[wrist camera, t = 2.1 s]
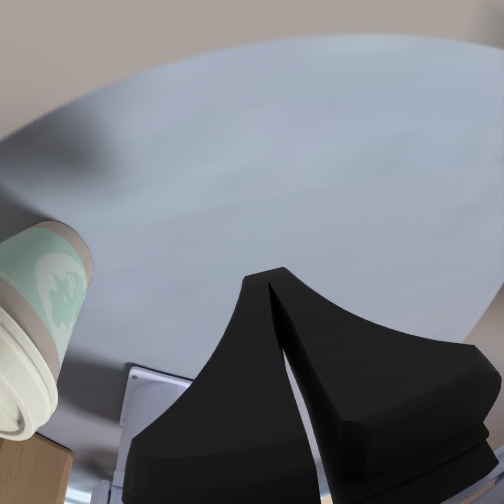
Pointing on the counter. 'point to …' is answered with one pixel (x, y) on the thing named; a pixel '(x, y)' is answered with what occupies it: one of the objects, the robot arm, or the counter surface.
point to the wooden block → (33, 471)
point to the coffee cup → (37, 320)
